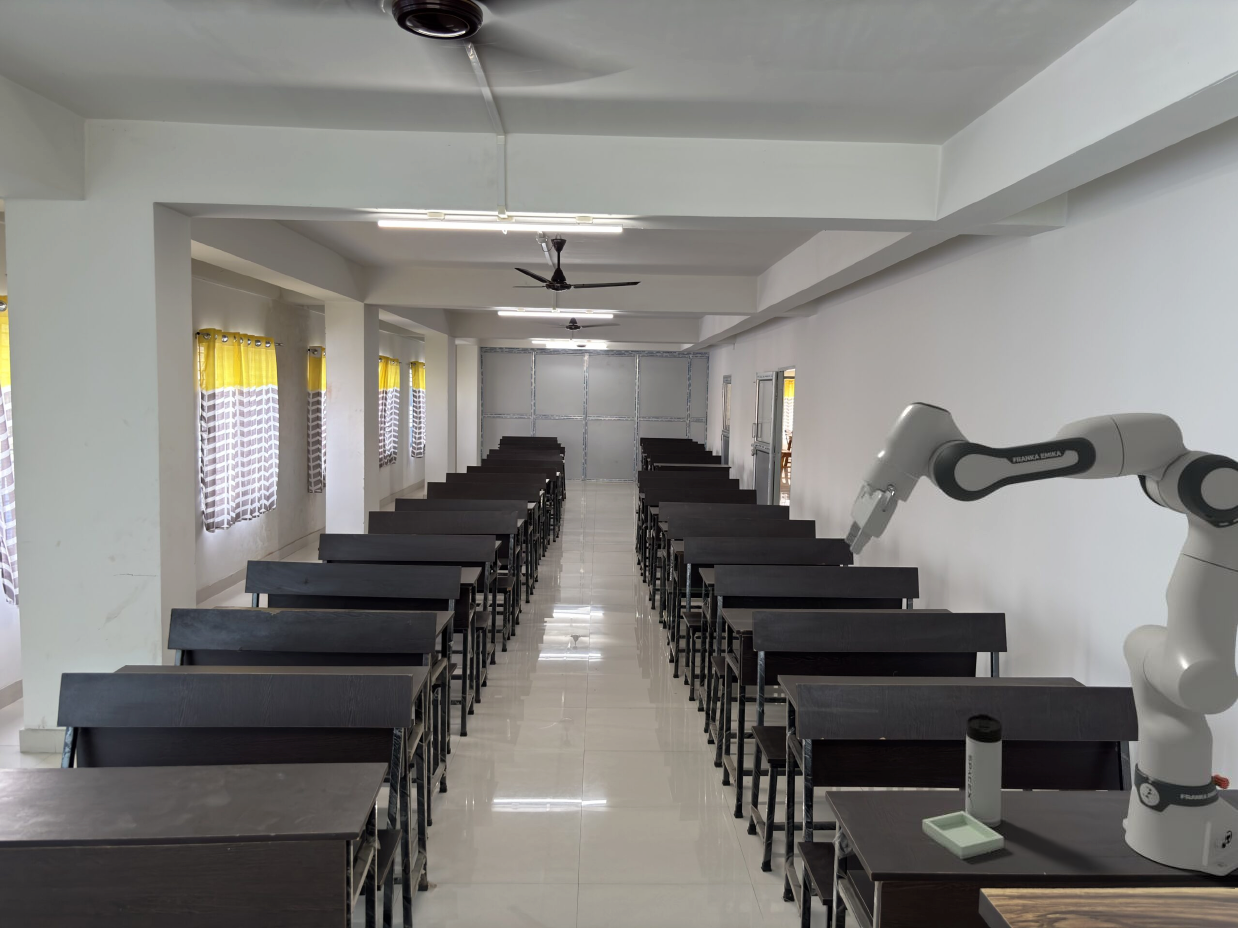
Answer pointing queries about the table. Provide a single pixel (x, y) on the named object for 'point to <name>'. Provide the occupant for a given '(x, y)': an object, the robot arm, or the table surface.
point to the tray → (962, 834)
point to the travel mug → (983, 769)
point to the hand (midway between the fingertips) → (850, 547)
